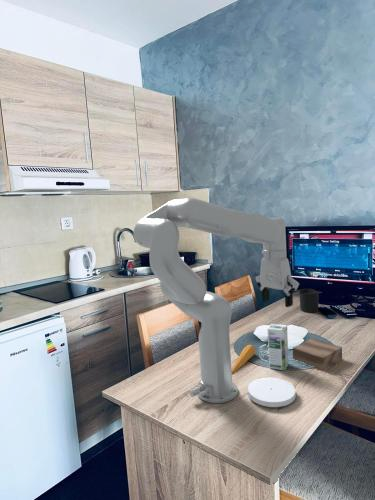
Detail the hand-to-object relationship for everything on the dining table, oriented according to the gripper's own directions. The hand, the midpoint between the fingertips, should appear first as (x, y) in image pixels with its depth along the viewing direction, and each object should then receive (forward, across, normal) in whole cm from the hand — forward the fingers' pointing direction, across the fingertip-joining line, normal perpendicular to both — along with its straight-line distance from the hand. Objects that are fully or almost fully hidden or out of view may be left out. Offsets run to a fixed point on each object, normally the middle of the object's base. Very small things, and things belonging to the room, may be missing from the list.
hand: (277, 303), depth 122 cm
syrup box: (+23, 0, 0) cm, 23 cm away
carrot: (+23, -11, -8) cm, 27 cm away
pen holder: (+24, -26, +60) cm, 69 cm away
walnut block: (+23, +7, +12) cm, 27 cm away
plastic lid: (+23, +10, -18) cm, 31 cm away
